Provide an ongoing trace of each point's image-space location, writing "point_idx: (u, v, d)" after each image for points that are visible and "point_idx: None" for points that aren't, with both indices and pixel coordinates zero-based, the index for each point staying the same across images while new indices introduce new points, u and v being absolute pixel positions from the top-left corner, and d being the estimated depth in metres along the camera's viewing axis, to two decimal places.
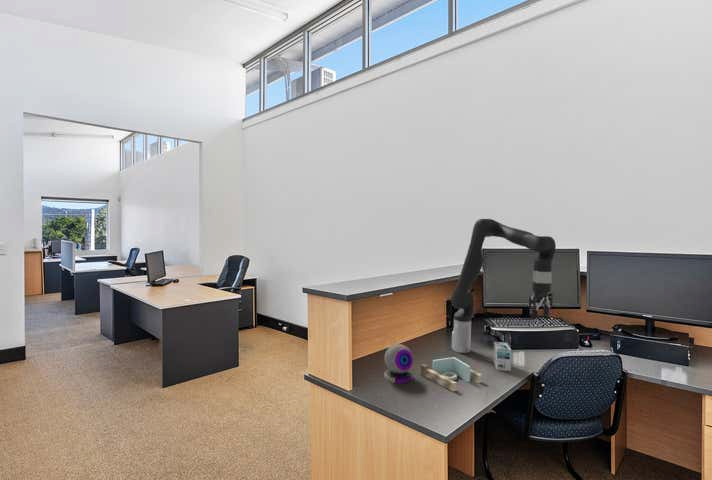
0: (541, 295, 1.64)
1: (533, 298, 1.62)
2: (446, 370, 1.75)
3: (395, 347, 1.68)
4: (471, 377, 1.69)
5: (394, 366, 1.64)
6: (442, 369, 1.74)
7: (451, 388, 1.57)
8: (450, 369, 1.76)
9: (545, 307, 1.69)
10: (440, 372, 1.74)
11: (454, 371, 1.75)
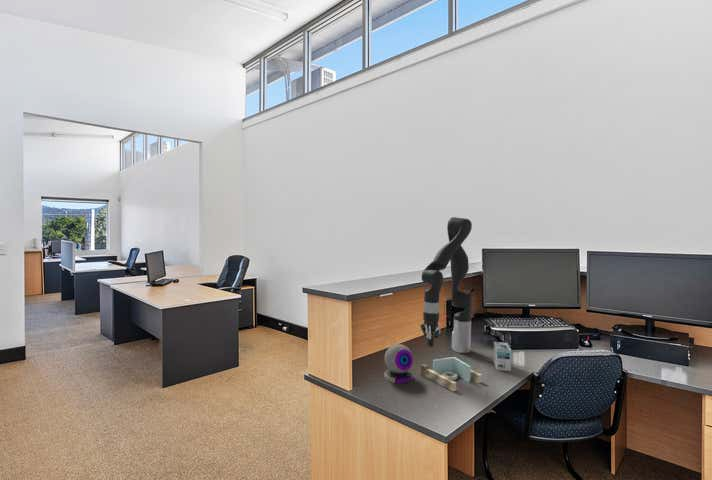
0: None
1: (440, 332, 1.76)
2: (446, 370, 1.75)
3: (395, 347, 1.68)
4: (471, 377, 1.69)
5: (394, 366, 1.64)
6: (442, 369, 1.75)
7: (451, 388, 1.57)
8: (450, 369, 1.76)
9: None
10: (440, 372, 1.74)
11: (454, 371, 1.76)
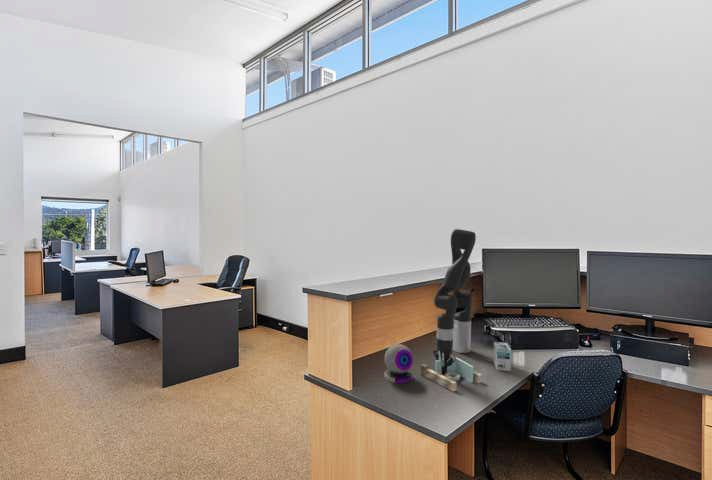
0: None
1: (454, 360, 1.68)
2: (449, 370, 1.74)
3: (395, 347, 1.68)
4: None
5: (394, 366, 1.64)
6: None
7: (451, 388, 1.57)
8: (453, 369, 1.75)
9: None
10: None
11: (457, 371, 1.75)
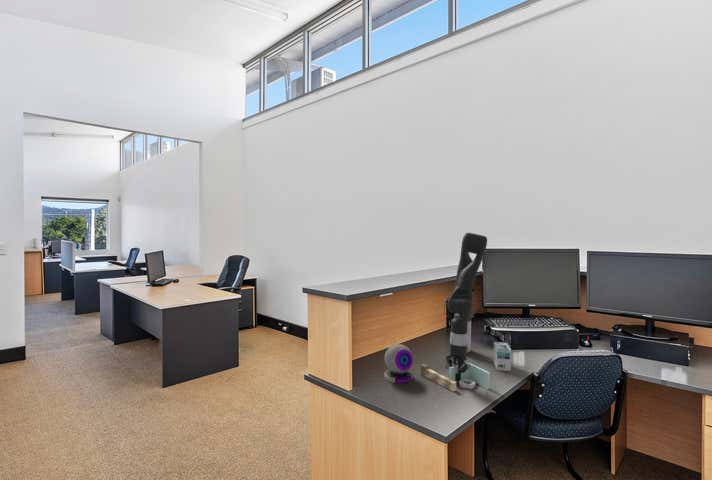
0: None
1: (468, 367, 1.61)
2: (462, 377, 1.67)
3: (395, 347, 1.68)
4: None
5: (394, 366, 1.64)
6: None
7: (451, 388, 1.57)
8: (466, 376, 1.68)
9: None
10: None
11: (470, 378, 1.68)
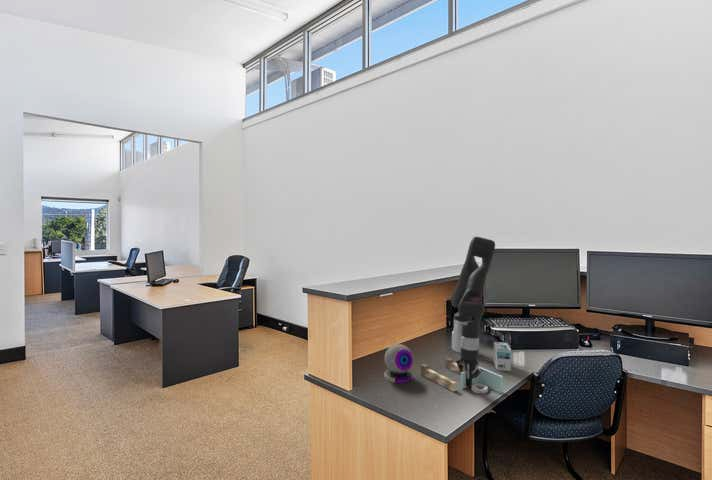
0: None
1: (480, 372, 1.55)
2: (473, 381, 1.63)
3: (395, 347, 1.68)
4: None
5: (394, 366, 1.64)
6: None
7: (451, 388, 1.57)
8: (476, 380, 1.64)
9: None
10: None
11: (480, 382, 1.64)
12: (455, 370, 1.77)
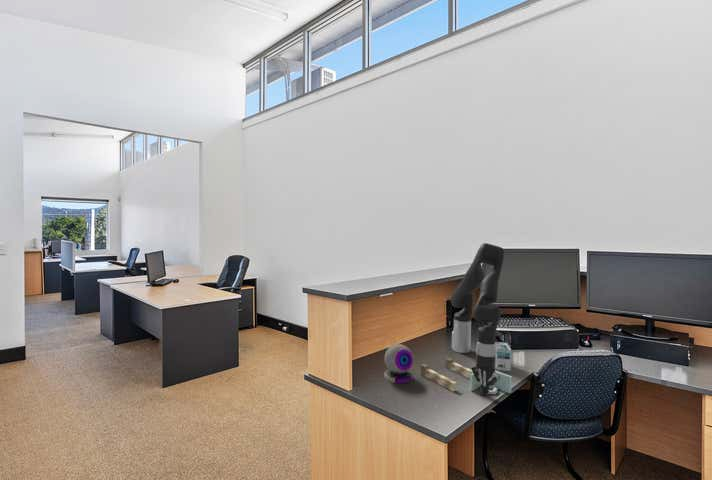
0: None
1: (497, 379, 1.49)
2: None
3: (395, 347, 1.68)
4: None
5: (394, 366, 1.64)
6: (478, 382, 1.60)
7: (451, 388, 1.57)
8: None
9: None
10: (476, 386, 1.60)
11: None
12: (455, 370, 1.77)
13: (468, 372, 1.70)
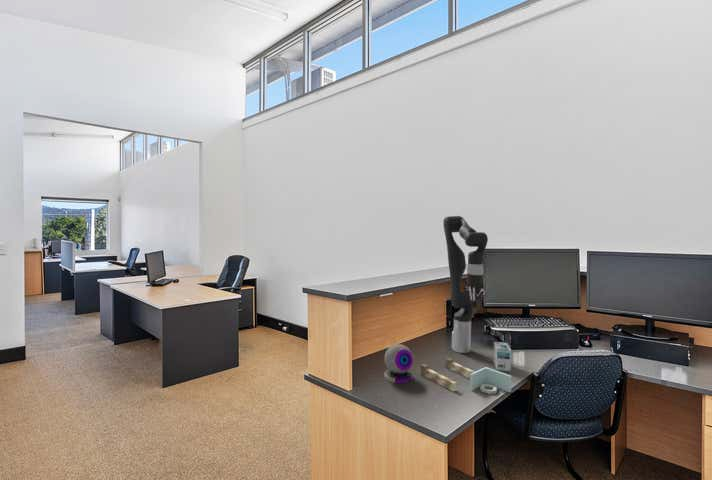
0: None
1: (484, 293, 1.78)
2: (481, 382, 1.62)
3: (395, 347, 1.68)
4: None
5: (394, 366, 1.64)
6: (478, 382, 1.61)
7: (451, 388, 1.57)
8: (483, 380, 1.64)
9: None
10: (476, 385, 1.60)
11: (487, 382, 1.64)
12: (455, 370, 1.77)
13: (468, 372, 1.70)
